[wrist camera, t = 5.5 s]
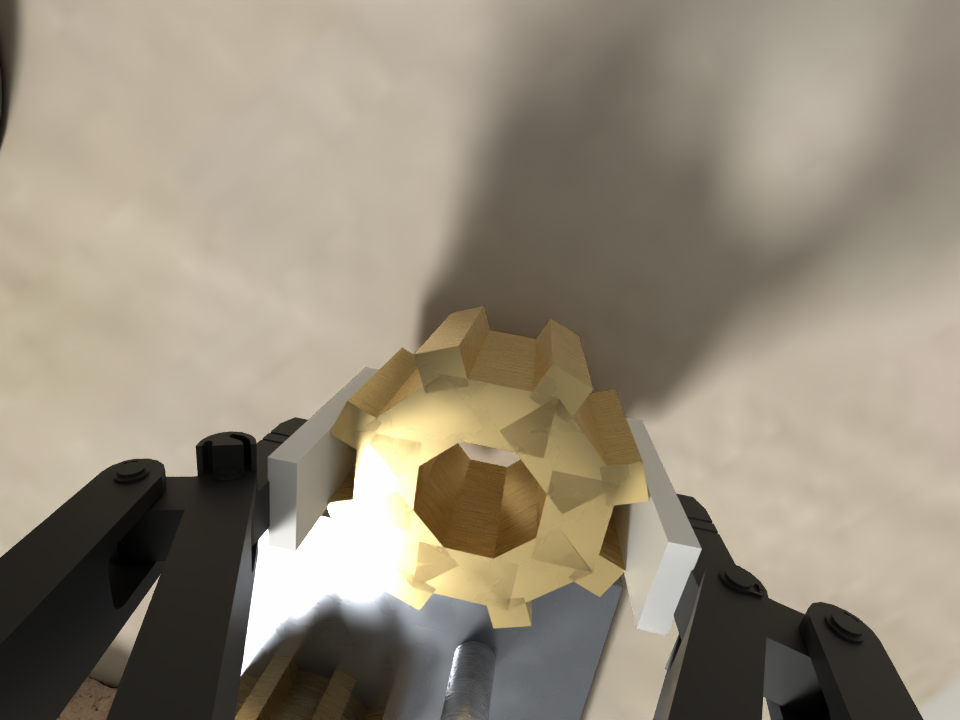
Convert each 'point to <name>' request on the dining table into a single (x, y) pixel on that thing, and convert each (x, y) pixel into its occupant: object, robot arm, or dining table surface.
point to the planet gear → (489, 468)
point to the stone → (89, 702)
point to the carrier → (406, 644)
